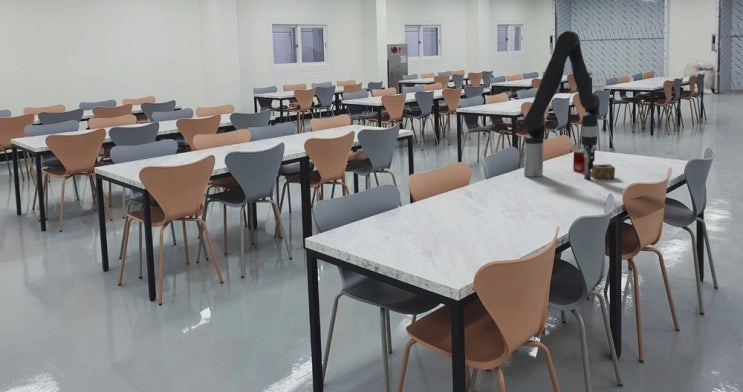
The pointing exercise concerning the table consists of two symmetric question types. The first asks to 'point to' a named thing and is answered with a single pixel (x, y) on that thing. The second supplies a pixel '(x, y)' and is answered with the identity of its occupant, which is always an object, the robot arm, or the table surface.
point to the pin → (587, 170)
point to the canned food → (578, 161)
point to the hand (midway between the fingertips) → (588, 167)
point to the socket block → (603, 172)
